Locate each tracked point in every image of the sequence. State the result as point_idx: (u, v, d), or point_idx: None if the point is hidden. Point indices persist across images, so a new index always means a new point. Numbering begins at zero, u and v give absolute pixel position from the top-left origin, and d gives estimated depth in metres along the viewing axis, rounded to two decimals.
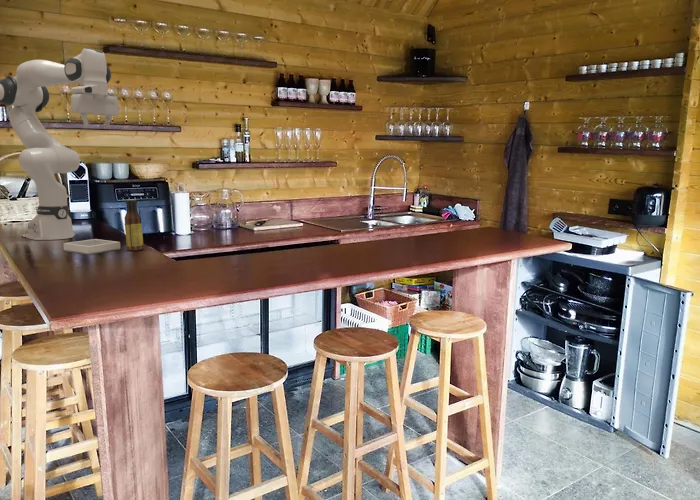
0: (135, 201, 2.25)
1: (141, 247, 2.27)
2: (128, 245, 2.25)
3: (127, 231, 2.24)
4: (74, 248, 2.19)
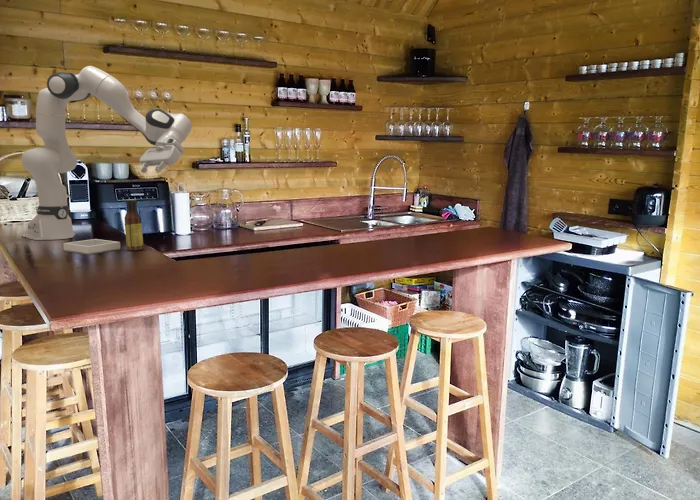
0: (135, 201, 2.25)
1: (141, 247, 2.27)
2: (128, 245, 2.25)
3: (127, 231, 2.24)
4: (74, 248, 2.19)
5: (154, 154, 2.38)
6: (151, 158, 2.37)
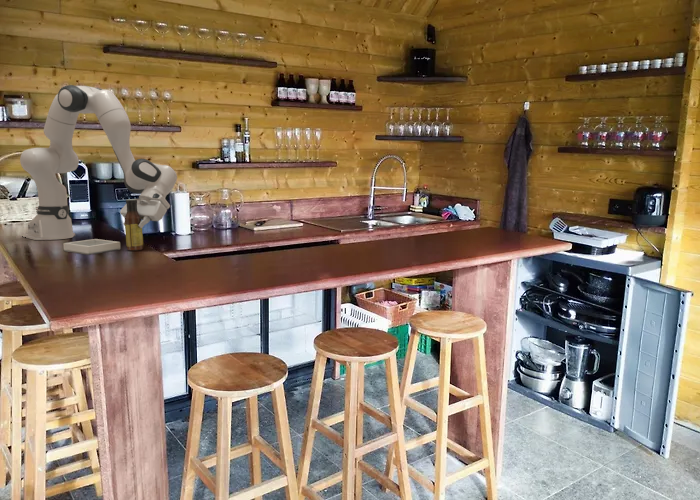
0: (135, 201, 2.25)
1: (141, 247, 2.27)
2: (128, 245, 2.25)
3: (127, 231, 2.24)
4: (74, 248, 2.19)
5: (137, 207, 2.30)
6: None
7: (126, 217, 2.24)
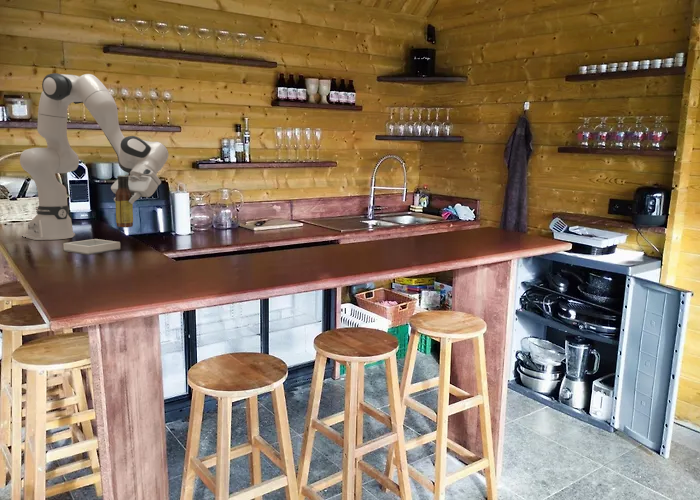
0: (127, 178, 2.22)
1: (131, 224, 2.26)
2: (118, 221, 2.24)
3: (117, 207, 2.23)
4: (74, 248, 2.19)
5: (128, 183, 2.28)
6: None
7: (117, 193, 2.22)
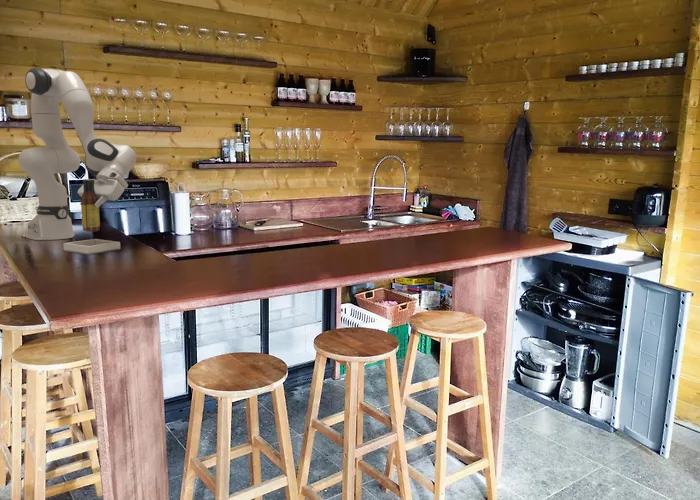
0: (92, 181, 2.20)
1: (97, 228, 2.23)
2: (84, 226, 2.21)
3: (83, 211, 2.20)
4: (74, 248, 2.19)
5: (94, 187, 2.25)
6: None
7: (82, 197, 2.20)
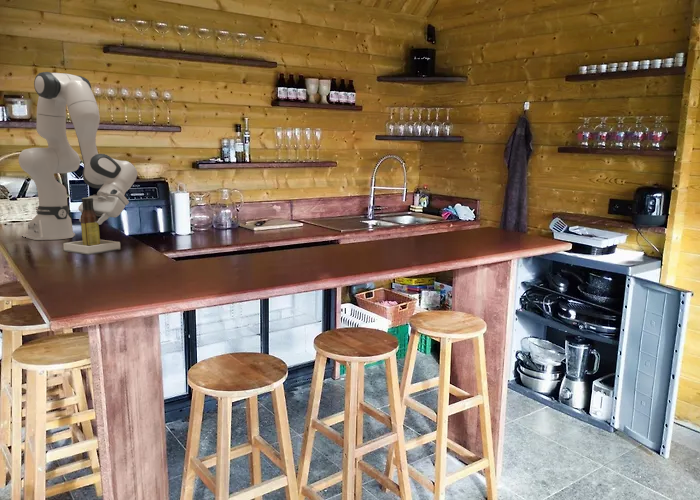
0: (91, 199, 2.22)
1: None
2: (84, 244, 2.23)
3: (83, 229, 2.22)
4: (74, 248, 2.19)
5: (95, 204, 2.26)
6: None
7: (82, 216, 2.21)
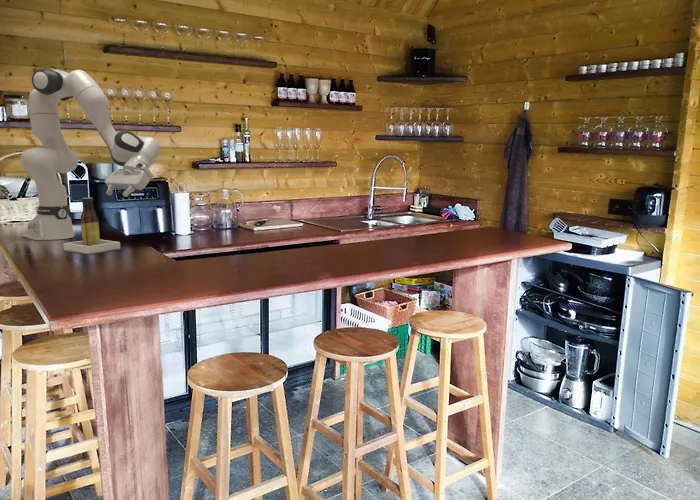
0: (91, 199, 2.22)
1: None
2: (84, 244, 2.23)
3: (83, 229, 2.22)
4: (74, 248, 2.19)
5: (121, 177, 2.36)
6: (118, 181, 2.35)
7: (82, 216, 2.21)
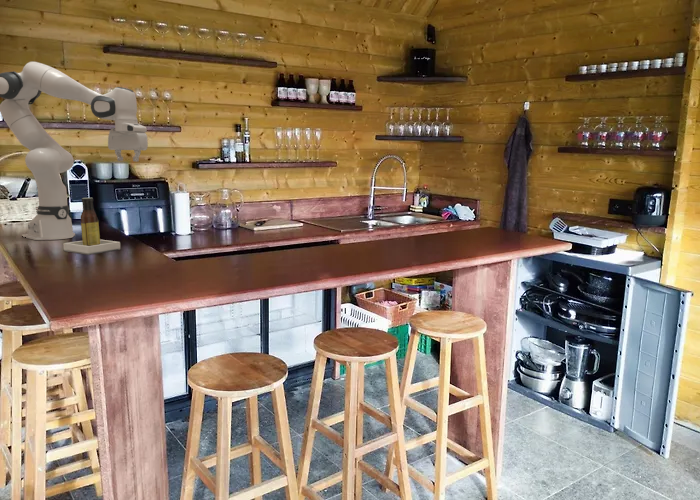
0: (91, 199, 2.22)
1: None
2: (84, 244, 2.23)
3: (83, 229, 2.22)
4: (74, 248, 2.19)
5: (121, 142, 2.41)
6: (121, 147, 2.42)
7: (82, 216, 2.21)
